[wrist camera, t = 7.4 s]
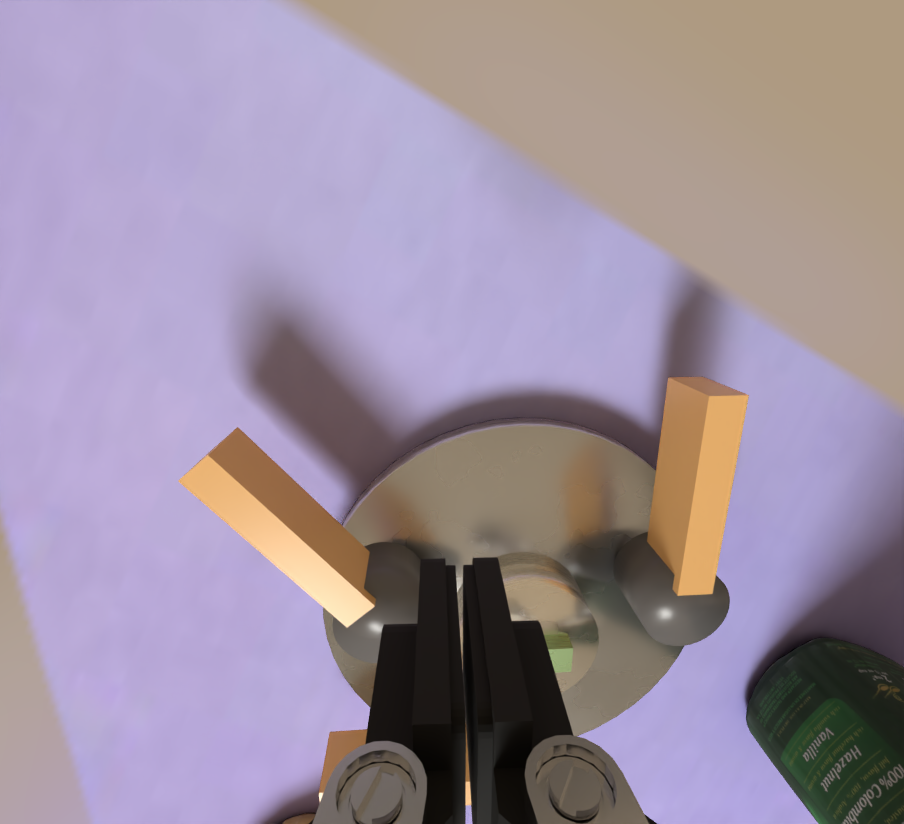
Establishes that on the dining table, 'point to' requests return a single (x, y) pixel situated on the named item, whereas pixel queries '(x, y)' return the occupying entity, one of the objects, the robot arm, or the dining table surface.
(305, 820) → the pastry
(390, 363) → the dining table surface
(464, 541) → the level plate
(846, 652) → the coffee jar
